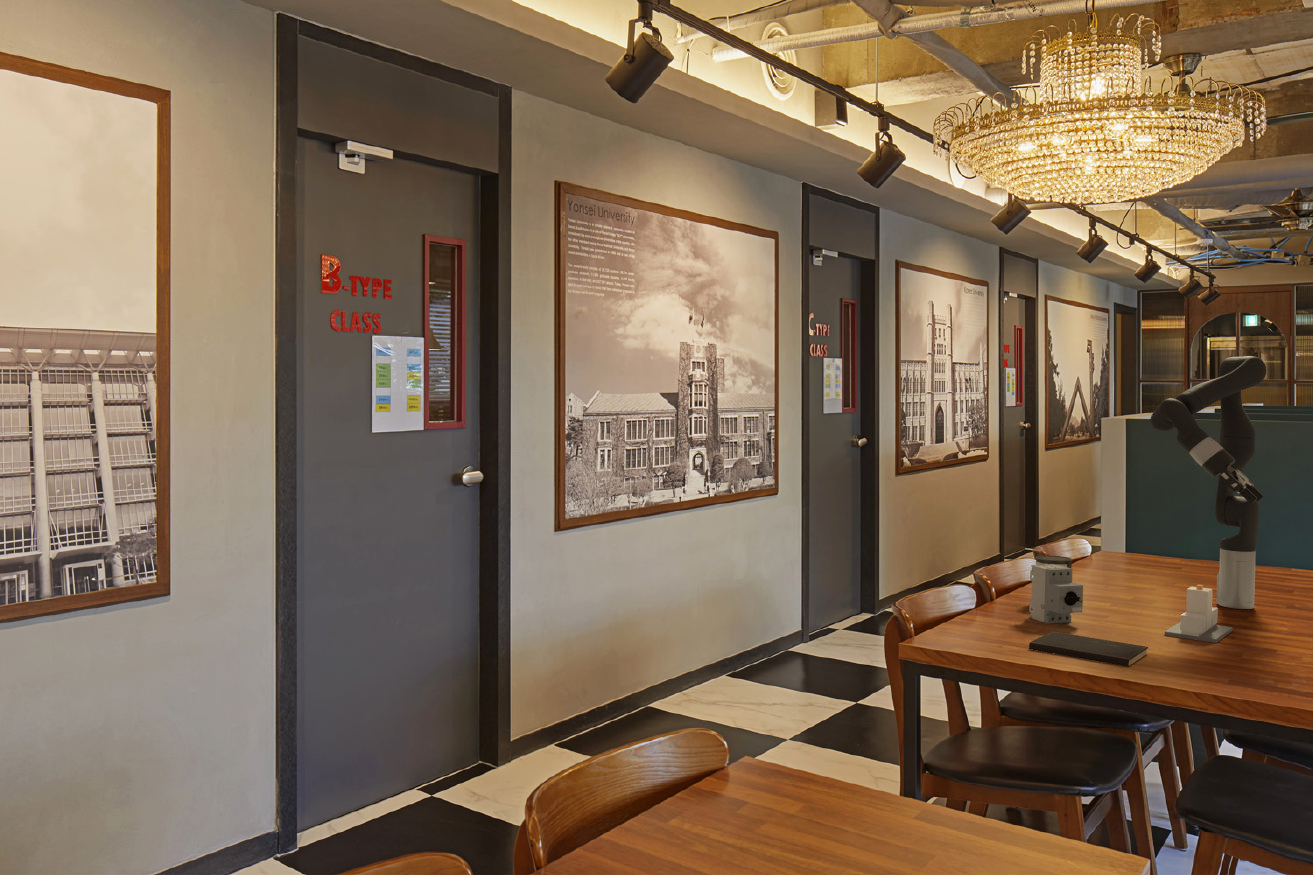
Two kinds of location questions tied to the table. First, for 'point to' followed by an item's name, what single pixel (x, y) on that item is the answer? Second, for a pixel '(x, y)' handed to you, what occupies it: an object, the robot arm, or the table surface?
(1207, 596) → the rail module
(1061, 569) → the circuit breaker
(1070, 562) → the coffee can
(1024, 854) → the table surface
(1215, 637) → the rail board
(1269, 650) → the table surface
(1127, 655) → the hardcover book
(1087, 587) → the table surface
